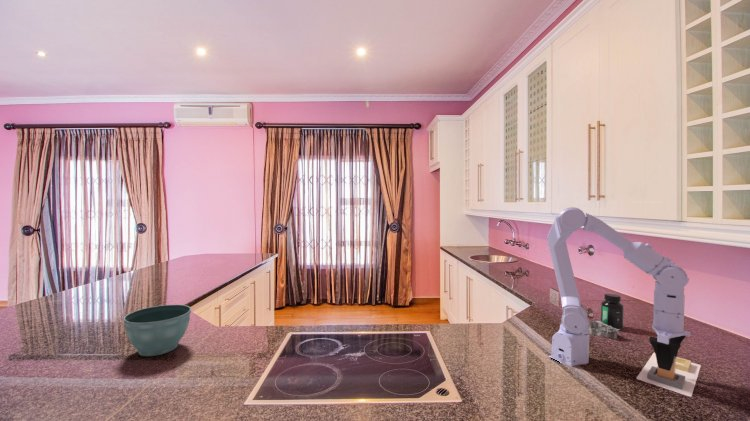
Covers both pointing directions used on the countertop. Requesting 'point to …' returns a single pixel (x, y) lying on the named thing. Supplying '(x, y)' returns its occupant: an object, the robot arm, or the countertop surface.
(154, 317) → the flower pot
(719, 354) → the countertop surface
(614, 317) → the supplement bottle
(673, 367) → the peg
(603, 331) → the egg carton
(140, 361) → the countertop surface
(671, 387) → the socket board
